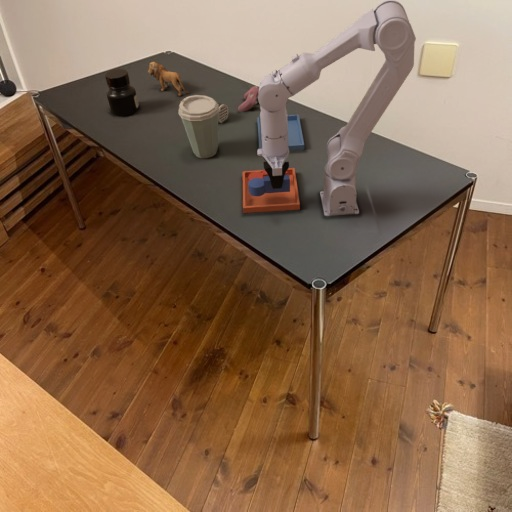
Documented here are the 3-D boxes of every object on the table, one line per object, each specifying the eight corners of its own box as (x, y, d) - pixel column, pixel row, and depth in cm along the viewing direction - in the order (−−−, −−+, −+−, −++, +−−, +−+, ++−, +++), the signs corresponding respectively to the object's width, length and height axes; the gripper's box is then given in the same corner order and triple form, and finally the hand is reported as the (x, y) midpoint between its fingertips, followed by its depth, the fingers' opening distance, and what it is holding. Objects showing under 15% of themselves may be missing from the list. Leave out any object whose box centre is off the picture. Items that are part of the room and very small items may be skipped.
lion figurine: (149, 90, 172) (143, 64, 166) (158, 84, 175) (153, 58, 169) (185, 97, 166) (180, 70, 160) (194, 90, 169) (190, 64, 163)
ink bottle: (145, 109, 162) (137, 72, 153) (123, 120, 157) (113, 82, 149) (127, 100, 167) (118, 64, 159) (105, 111, 162) (95, 74, 154)
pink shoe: (249, 118, 156) (258, 99, 152) (236, 111, 156) (245, 92, 151) (256, 103, 163) (265, 85, 159) (243, 97, 163) (251, 78, 158)
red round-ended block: (286, 178, 128) (286, 166, 126) (287, 187, 125) (287, 175, 123) (248, 180, 128) (247, 168, 126) (249, 189, 125) (248, 178, 123)
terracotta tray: (299, 211, 119) (299, 204, 117) (243, 214, 119) (243, 207, 118) (294, 174, 130) (294, 167, 128) (243, 178, 130) (242, 171, 129)
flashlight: (179, 115, 157) (176, 99, 154) (189, 108, 161) (187, 91, 157) (219, 126, 151) (217, 109, 147) (229, 118, 154) (227, 101, 150)
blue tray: (304, 151, 138) (304, 144, 136) (259, 154, 138) (259, 147, 137) (298, 120, 150) (298, 114, 149) (257, 123, 151) (257, 117, 149)
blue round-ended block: (289, 184, 121) (288, 171, 118) (290, 194, 118) (290, 181, 116) (248, 187, 121) (247, 174, 119) (249, 197, 118) (248, 184, 116)
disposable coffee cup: (230, 145, 142) (224, 95, 132) (215, 166, 135) (208, 114, 125) (196, 140, 145) (188, 91, 135) (179, 160, 138) (169, 109, 128)
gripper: (255, 117, 115) (258, 168, 124) (256, 151, 104) (260, 204, 113) (286, 115, 114) (287, 166, 124) (291, 148, 104) (292, 202, 113)
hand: (276, 184), depth 118 cm, fingers closed on blue round-ended block, 2 cm apart
